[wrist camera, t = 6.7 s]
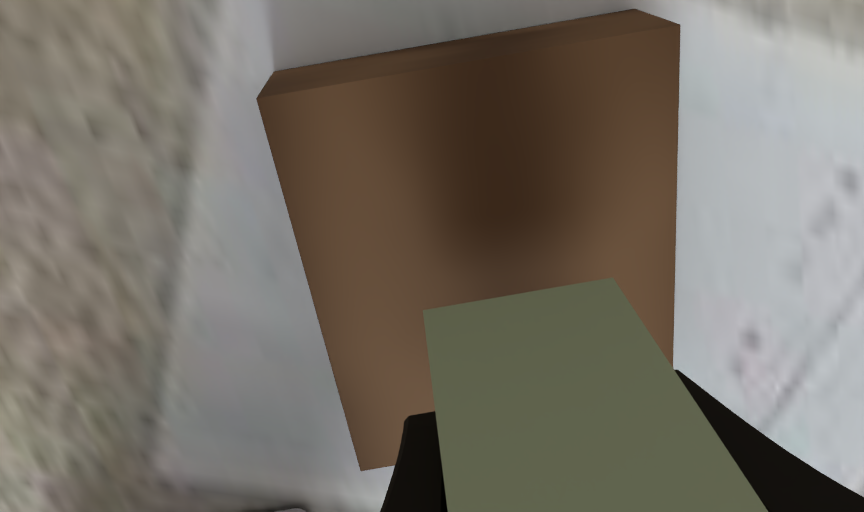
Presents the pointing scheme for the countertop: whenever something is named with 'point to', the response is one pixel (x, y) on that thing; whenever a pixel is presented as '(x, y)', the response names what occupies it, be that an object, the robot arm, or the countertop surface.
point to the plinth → (475, 190)
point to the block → (570, 410)
